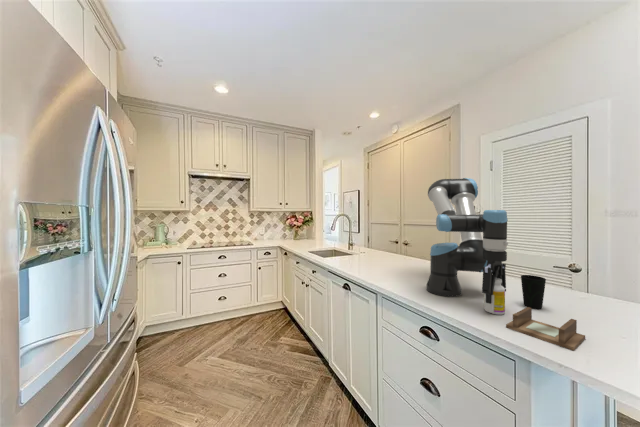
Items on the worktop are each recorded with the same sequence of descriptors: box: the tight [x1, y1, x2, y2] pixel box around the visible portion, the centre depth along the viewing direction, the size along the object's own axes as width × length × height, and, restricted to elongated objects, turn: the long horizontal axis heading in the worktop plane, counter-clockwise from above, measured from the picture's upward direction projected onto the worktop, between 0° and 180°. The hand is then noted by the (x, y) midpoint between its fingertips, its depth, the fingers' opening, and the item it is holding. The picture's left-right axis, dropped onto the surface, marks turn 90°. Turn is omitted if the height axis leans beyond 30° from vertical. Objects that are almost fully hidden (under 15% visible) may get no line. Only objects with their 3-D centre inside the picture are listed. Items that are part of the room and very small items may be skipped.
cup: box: [520, 274, 547, 310], centre depth 99 cm, size 8×8×12 cm
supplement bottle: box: [483, 278, 506, 316], centre depth 94 cm, size 7×7×13 cm
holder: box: [505, 306, 586, 352], centre depth 77 cm, size 16×12×5 cm
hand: (494, 309), depth 94 cm, fingers closed on supplement bottle, 7 cm apart
